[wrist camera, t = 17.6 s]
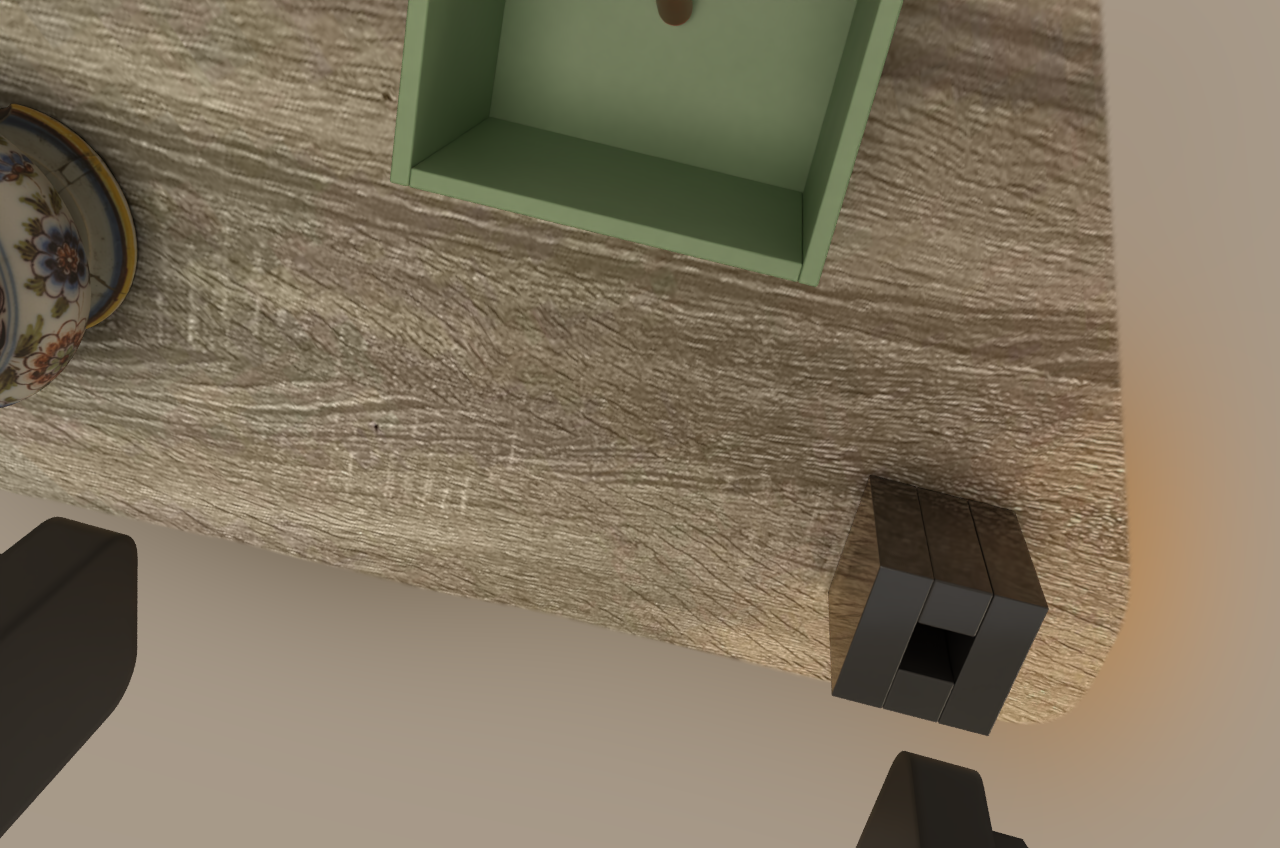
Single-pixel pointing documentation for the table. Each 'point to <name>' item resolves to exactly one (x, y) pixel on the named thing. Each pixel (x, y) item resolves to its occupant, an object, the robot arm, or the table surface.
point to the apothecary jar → (55, 248)
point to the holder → (932, 606)
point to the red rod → (674, 11)
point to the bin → (648, 118)
